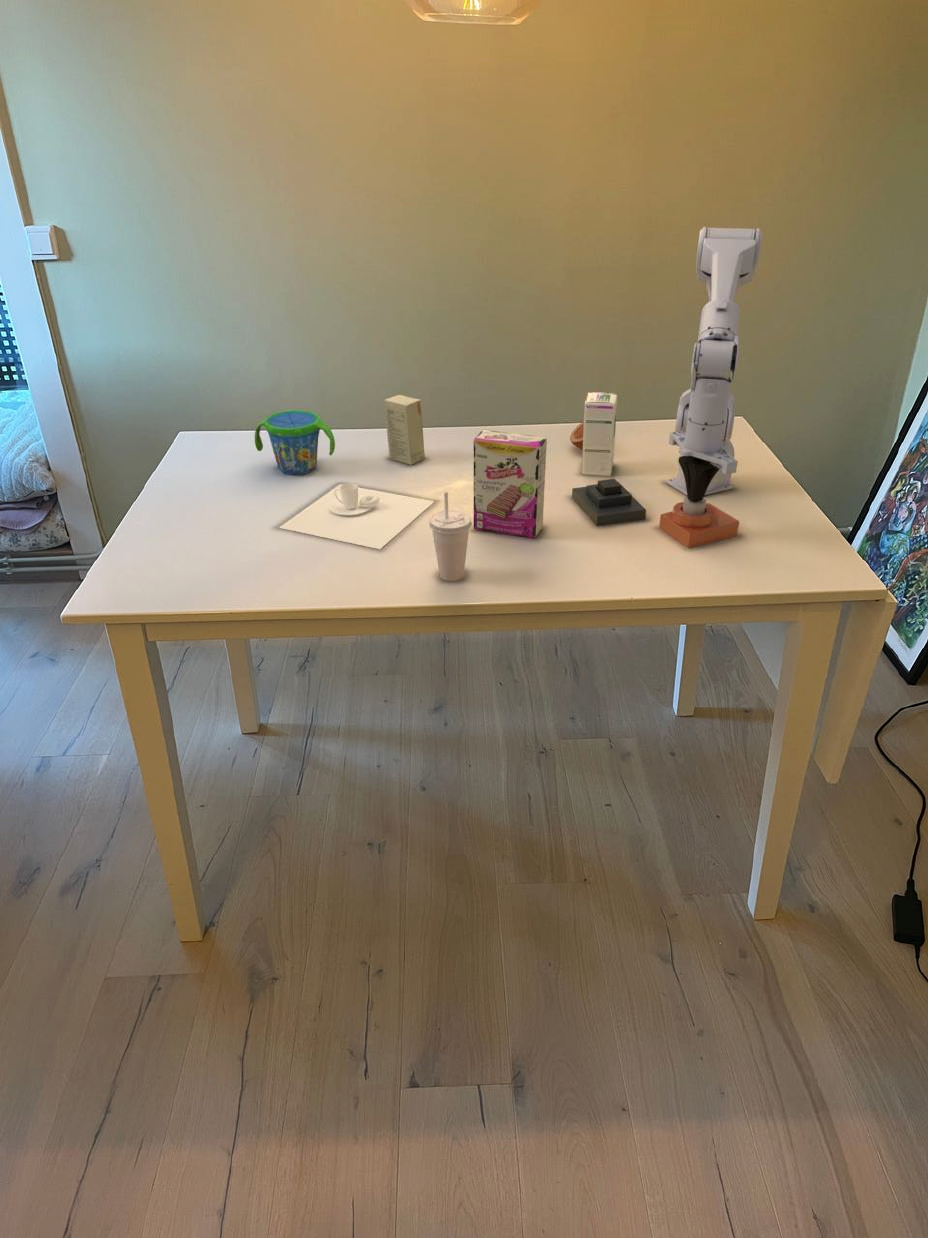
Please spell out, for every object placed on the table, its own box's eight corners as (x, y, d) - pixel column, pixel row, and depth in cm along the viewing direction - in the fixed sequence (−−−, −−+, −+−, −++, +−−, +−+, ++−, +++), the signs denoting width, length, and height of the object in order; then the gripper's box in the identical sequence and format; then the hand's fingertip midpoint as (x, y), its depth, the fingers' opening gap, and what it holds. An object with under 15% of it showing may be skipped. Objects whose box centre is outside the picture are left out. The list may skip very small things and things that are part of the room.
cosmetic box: (425, 459, 174) (423, 399, 168) (410, 465, 172) (407, 405, 165) (402, 451, 178) (399, 393, 171) (387, 458, 175) (383, 398, 169)
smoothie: (430, 566, 137) (426, 484, 130) (470, 563, 138) (469, 482, 130) (432, 586, 132) (429, 502, 125) (474, 584, 132) (473, 500, 125)
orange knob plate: (706, 516, 151) (710, 492, 148) (737, 535, 145) (741, 511, 142) (658, 528, 147) (661, 504, 145) (687, 548, 141) (691, 523, 139)
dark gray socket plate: (617, 491, 160) (619, 474, 158) (645, 519, 150) (647, 501, 148) (571, 497, 158) (572, 479, 156) (596, 526, 148) (598, 507, 146)
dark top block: (613, 487, 154) (614, 478, 153) (620, 494, 152) (621, 485, 151) (596, 489, 153) (597, 480, 153) (603, 497, 151) (604, 487, 150)
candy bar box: (472, 531, 147) (471, 439, 139) (481, 518, 151) (481, 428, 143) (536, 540, 144) (539, 446, 135) (544, 527, 148) (547, 435, 139)
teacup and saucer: (385, 503, 157) (383, 482, 155) (362, 521, 151) (361, 499, 149) (343, 495, 160) (341, 474, 158) (320, 512, 154) (317, 491, 152)
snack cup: (345, 462, 174) (340, 412, 168) (324, 482, 165) (318, 431, 160) (274, 455, 178) (267, 406, 172) (249, 475, 169) (241, 424, 164)
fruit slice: (605, 457, 174) (607, 433, 171) (572, 457, 174) (573, 433, 171) (599, 441, 181) (601, 418, 178) (567, 442, 181) (568, 419, 178)
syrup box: (611, 476, 166) (617, 402, 158) (580, 474, 167) (584, 400, 159) (613, 465, 171) (619, 392, 163) (582, 463, 172) (587, 391, 164)
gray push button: (695, 505, 145) (697, 494, 144) (709, 513, 142) (711, 502, 141) (677, 509, 144) (679, 498, 143) (691, 518, 141) (692, 506, 140)
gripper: (657, 409, 139) (648, 487, 146) (715, 438, 128) (703, 521, 135) (693, 402, 141) (683, 479, 149) (753, 430, 130) (739, 513, 138)
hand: (695, 499), depth 142 cm, fingers closed
